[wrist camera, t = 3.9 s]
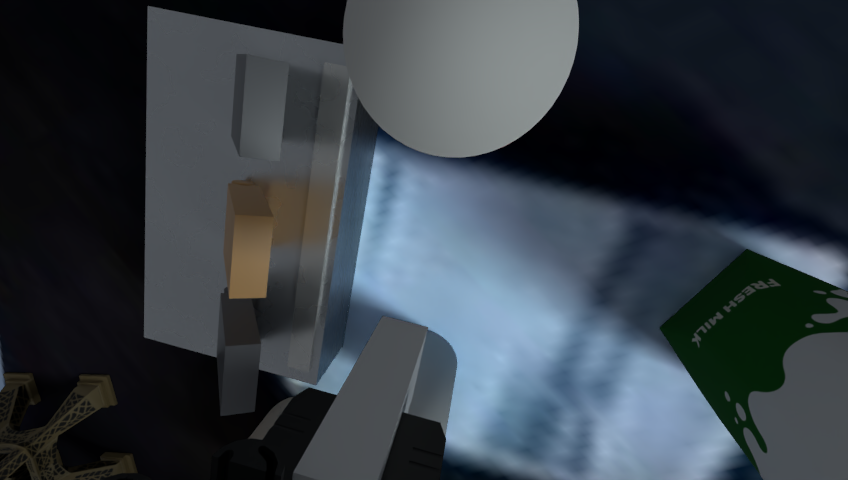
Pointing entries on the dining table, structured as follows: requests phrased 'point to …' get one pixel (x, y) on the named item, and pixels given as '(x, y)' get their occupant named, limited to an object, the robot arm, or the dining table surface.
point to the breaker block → (279, 181)
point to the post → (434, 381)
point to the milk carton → (772, 365)
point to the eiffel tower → (53, 431)
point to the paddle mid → (247, 240)
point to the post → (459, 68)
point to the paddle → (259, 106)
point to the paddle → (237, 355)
